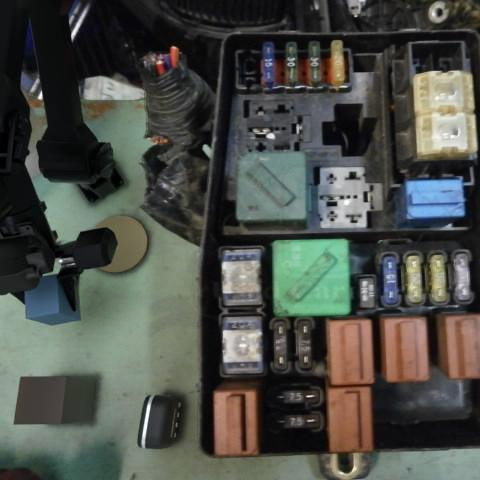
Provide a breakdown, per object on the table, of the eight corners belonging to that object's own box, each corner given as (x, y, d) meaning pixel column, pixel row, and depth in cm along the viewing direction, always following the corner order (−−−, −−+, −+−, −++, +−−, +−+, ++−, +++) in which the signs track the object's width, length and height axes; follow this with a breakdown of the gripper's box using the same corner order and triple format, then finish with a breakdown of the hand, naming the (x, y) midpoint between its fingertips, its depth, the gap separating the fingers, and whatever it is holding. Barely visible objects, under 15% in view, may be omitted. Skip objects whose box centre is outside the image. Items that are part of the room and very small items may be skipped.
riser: (50, 421, 80) (13, 424, 69) (56, 379, 81) (20, 376, 71) (92, 420, 80) (60, 424, 69) (96, 378, 82) (66, 376, 71)
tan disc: (79, 238, 88) (76, 236, 86) (130, 207, 89) (128, 204, 88) (108, 285, 86) (105, 283, 84) (159, 252, 87) (158, 250, 86)
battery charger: (182, 445, 79) (164, 452, 68) (156, 443, 79) (134, 450, 68) (189, 396, 81) (173, 395, 70) (164, 393, 81) (143, 393, 70)
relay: (50, 325, 72) (25, 318, 66) (48, 289, 74) (23, 279, 67) (81, 320, 73) (59, 312, 66) (78, 284, 74) (56, 273, 67)
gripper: (-107, 254, 55) (-41, 368, 63) (79, 224, 57) (121, 338, 65) (-59, 208, 65) (-7, 311, 73) (99, 183, 67) (134, 287, 74)
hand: (58, 312), depth 71 cm, fingers closed on relay, 4 cm apart
